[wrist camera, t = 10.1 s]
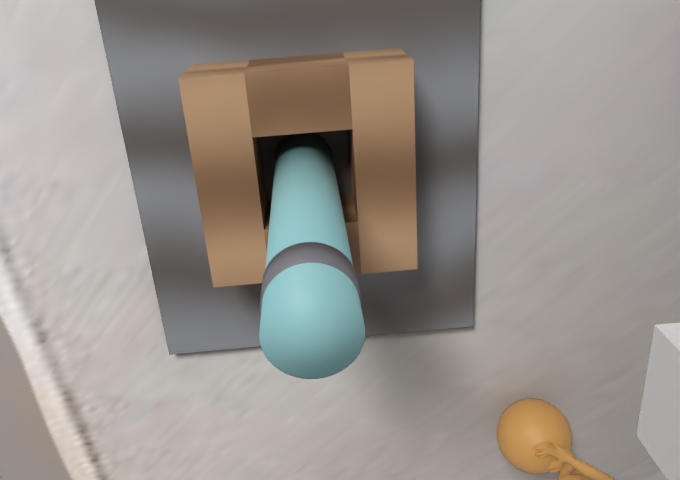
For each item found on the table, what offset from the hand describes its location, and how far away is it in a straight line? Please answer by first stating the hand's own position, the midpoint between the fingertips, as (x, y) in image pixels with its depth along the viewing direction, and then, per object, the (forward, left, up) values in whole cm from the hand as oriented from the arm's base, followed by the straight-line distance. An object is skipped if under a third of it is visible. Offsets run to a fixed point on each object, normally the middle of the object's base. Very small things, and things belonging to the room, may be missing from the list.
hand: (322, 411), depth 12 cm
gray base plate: (0, 0, -19) cm, 19 cm away
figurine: (+16, +12, -19) cm, 28 cm away
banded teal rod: (0, 0, -18) cm, 18 cm away
